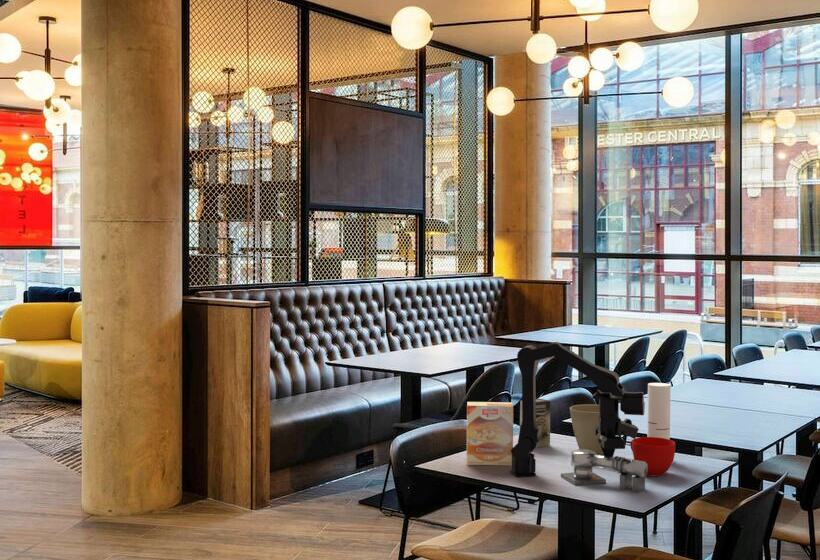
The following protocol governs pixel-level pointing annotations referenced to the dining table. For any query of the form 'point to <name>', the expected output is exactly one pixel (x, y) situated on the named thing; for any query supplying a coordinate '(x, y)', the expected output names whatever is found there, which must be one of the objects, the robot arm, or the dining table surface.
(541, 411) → the coffee box
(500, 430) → the coffeecake box
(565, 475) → the flange plate
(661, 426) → the cylindrical container
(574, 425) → the plant pot
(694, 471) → the dining table surface
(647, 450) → the red bowl
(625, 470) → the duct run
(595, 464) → the elbow
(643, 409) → the robot arm
